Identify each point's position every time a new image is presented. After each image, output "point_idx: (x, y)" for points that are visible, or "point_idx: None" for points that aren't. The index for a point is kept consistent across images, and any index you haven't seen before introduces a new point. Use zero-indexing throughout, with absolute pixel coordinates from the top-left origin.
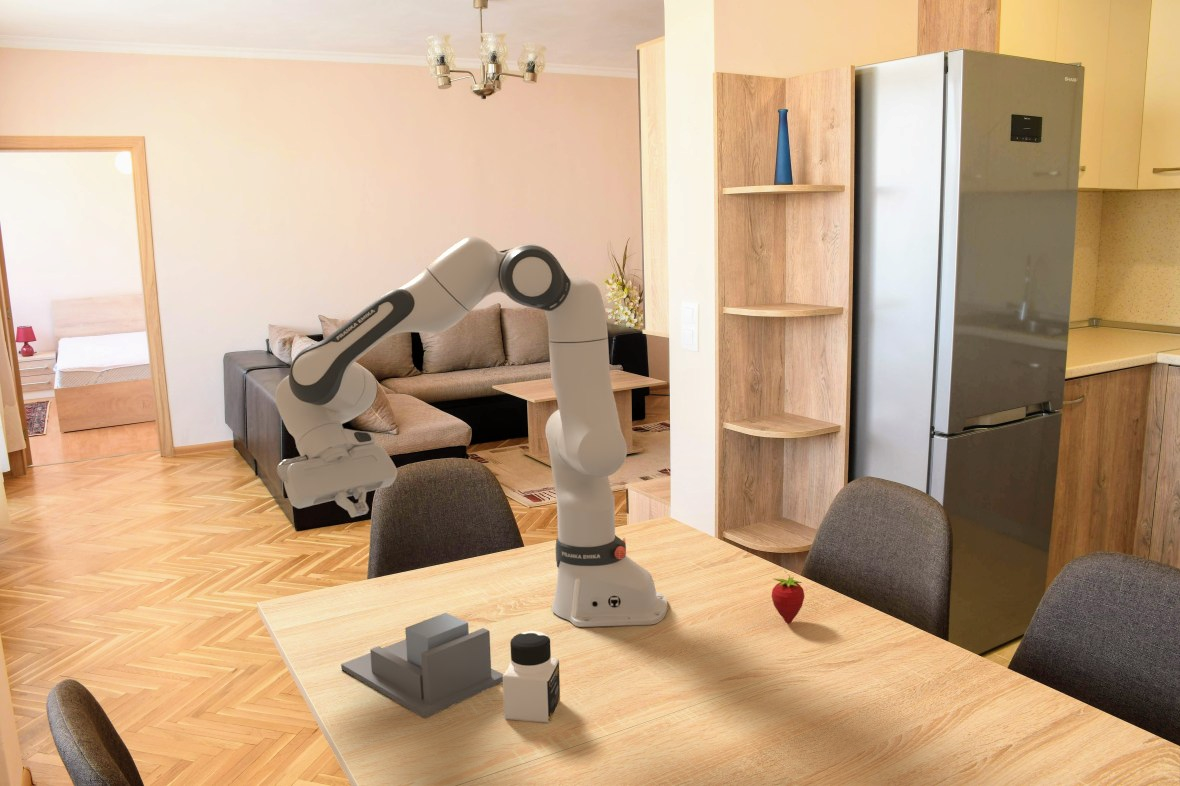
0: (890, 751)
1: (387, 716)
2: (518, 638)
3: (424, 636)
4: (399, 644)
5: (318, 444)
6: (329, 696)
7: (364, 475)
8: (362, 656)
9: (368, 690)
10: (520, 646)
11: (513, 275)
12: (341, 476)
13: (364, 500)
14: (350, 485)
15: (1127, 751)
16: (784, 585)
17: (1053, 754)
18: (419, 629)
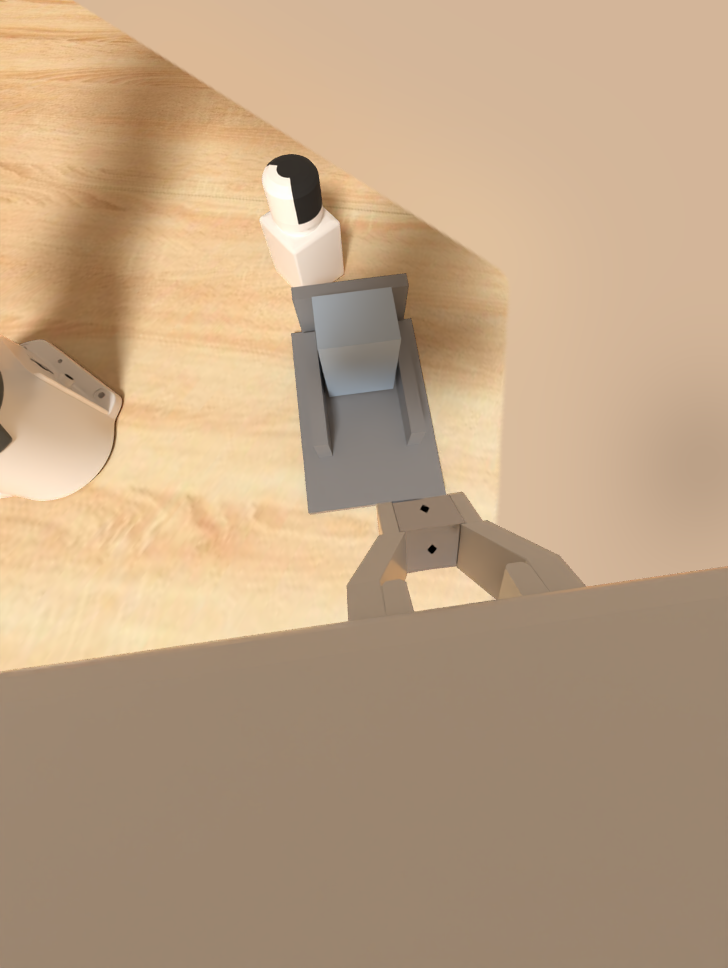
0: (137, 75)
1: (441, 351)
2: (304, 174)
3: (391, 295)
4: (350, 499)
5: None
6: (482, 435)
7: (298, 718)
8: (411, 497)
9: (435, 419)
10: (313, 165)
11: None
12: (643, 752)
13: (384, 537)
14: (495, 607)
15: (26, 2)
16: None
17: (63, 22)
18: (385, 320)
